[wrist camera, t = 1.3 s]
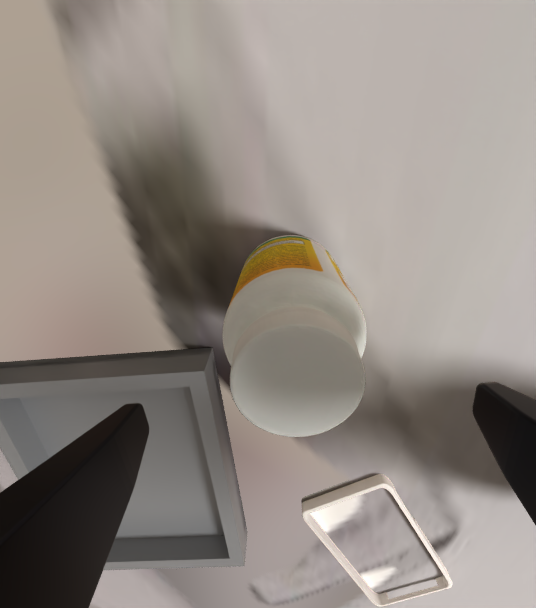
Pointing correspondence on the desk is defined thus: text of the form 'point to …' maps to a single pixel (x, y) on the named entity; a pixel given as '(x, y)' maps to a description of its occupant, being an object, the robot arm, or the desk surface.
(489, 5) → the desk surface
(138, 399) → the tray
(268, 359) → the supplement bottle
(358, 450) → the desk surface
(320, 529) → the phone case
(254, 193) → the desk surface
